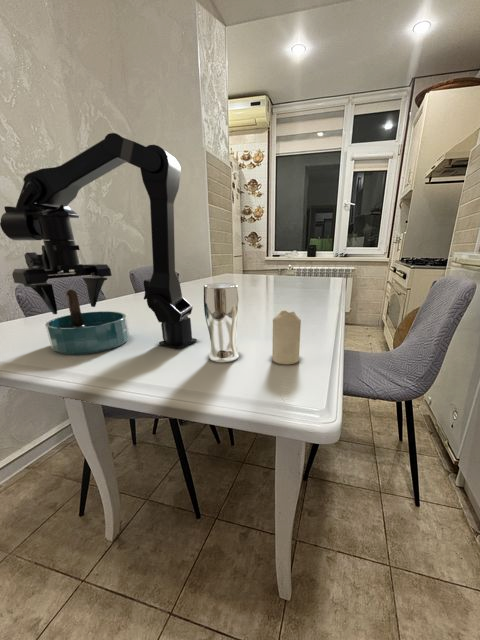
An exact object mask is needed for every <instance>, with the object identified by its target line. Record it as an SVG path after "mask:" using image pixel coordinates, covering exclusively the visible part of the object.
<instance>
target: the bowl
mask: <svg viewBox="0 0 480 640" xmlns="http://www.w3.org/2000/svg"><path fill="white" fill-rule="evenodd" d="M81 315H82V319H83V324H84V325H85V326H86V327H81V328H72V327H73V323H72V319H71V314H67V315H63V316H60V317H55V318H52V319H50V320H48V321H46V323H45V329H46V333H47V336H48V341H49V344H50V347H51V348H50V349H52V350H53V351H55V352H57V353H59V354H63V355H88V354H95V353H101V352H106V351H109V350H112V349H115V348H118V347H121V346H122V345H123V344H125V343H126V342H127V341H128V340H129V339H130V331H129V327H128V320H127V315H126V313H123V312H118V311H106V310H105V311H104V310H103V311H102V310H101V311H88V312H81Z"/></svg>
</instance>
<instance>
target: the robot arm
mask: <svg viewBox="0 0 480 640" xmlns="http://www.w3.org/2000/svg"><path fill="white" fill-rule="evenodd" d="M125 163H126V164H127V163H128V164H130V165H132V166H135V167H137V168H138V169H140V174H141V179H142V184H143V186H144V188H145V190H146V193H147V195H148V198H149V208H150V229H151V232H150V233H151V251H152V252H151V253H152V275H151V277H150V278H148V279H145V280H143V288H144V289H143V290H144V295H143V300H146V305H147V307H148V309H150V310H151V311H152V312H153V313H154V315H155V318H156V320H157V321H158V323H160V325H161V333H162V341H159V342H158V344H159V345H161V346H164V347H170V348H174V349H182V348H184V347H186V346H189V345H191V344H193V343H196V342H197V341H198V339H197V338H195V337H193V332H192V321H191V317H189V316H190V315H191V314H192V311H193V305H192V304H191V303H190V302H189V301H188V300H187V299H185V297H183V294H182V287H181V283H180V281H179V279H178V275H177V272H176V257H175V256H176V255H175V253H176V251H175V249H176V248H175V247H176V246H175V200H176V198H177V195H178V193H179V189H180V183H181V175H182V170H181V165H180V162H179V161H178V160H177V159H176V157H175V156H173V155H172V154H171V153H170V152H168V151H167V150H165V149H164V148H162V147H161V146H160V145H157V144H148V145H147V146H145V145H143V144H141V143H138V142H136V141H134V140H131V139H128V138H126V137H123V136H122V135H120V134H118V133H116V132H110V133H108V134H106V135H105V137H104V138H103V139H102V140H100V141H98V142H97V143H95V144H93V145H92V146H90V147H88V148H87V149H85V150H84V151H81V152H80V153H79V154H77V155H76V156H73V157H72V158H71V159H68V160H67V161H66V162H64V163H62V164H61V165H58V166H54V167H44V168H40V169H37V170H33V171H30V172H28V173H26V174H25V175H24V177H23V185H22V187H21V191H20V194H19V196H18V199H17V202H16V204H15V206H10V205H7V206H4V211H5V212H4V213H3V214H2V215H1V217H0V229H1V231H2V232H3V234H4V236H6V237H7V238H9V239H10V240H12V241H42V242H43V245H42V244H41V254H38V253H37V252H34V251H33V252H26V253H24V259H25V264H26V266H27V267H25V268H24V267H23V268H14V269H13V271H12V274H11V276H12V279H13V283H14V284H20V285H23V286H24V287H26V288H31V289H32V290H33V291H34V292H36V293H37V295H38V296H39V297H40V298H41V300H42V301H43V302H44V303H45V305H46V306H47V308H48V309H49V310H50V312H51V313H52V315H58V306H57V302H56V297H55V293H54V292H55V291H54V288H53V284H52V283H48V280H52V279H60V278H61V279H62V278H73V277H82V280H83V281H84V283H85V285H86V289H87V295H88V300H89V304H90V307H91V308H96V305H97V303H98V299H99V296H100V292H101V289H102V287H103V285H104V282H105V281H107V280H108V277H112V269H111V267H110V266H109V265H108V264H107V263H91V264H90V263H89V264H81V263H80V260H79V257H78V251H80V250H81V249H80V246H79V244H76V242H75V237H74V232H73V227H72V224H71V219H79V218H80V215H79V214H78V213H77V212H75V210H74V209H72V208H71V207H70V206H69V204H71V203H72V202H73V201H74V200H75V199H76V198H77V196H78V194H79V191H81V189H82V188H84V187H85V186H88V185H89V184H90V183H92V182H94V181H96V180H97V179H99V178H101V177H103V176H104V175H106V174H108V173H110V172H111V171H113V170H115V169H117V168H119V167H120V166H122V165H123V164H125ZM83 276H85V277H83Z"/></svg>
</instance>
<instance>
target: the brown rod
mask: <svg viewBox="0 0 480 640" xmlns="http://www.w3.org/2000/svg"><path fill="white" fill-rule="evenodd" d="M65 297H66V301H67V306H68V310H69V315H71V319H72V323H73V327H72V328H81V327H86V326H85V325H84V324H83V319H82V315H81V313H82V311H81V310H82V309H81V306H80V301H79V296H78V293H77V291H76V290H74V289H68V290H66V292H65Z"/></svg>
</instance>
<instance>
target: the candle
mask: <svg viewBox="0 0 480 640" xmlns="http://www.w3.org/2000/svg"><path fill="white" fill-rule="evenodd" d="M301 319H302V318H300V317H299V316H298V314H297V313H296V312H295V311H291V312H289V311H287V310H282V311H280V312H279V313H278V314H276V315H275V316H274V317H273V318H272V351H271V352H272V353H271V354H272V356H271V357H272V358H271V359H272V361H273V362H274V363H276V364H280V365H293V364H294V365H295V364H297V363H298V362H299V360H300V349H301V348H300V347H301V346H300V345H301V328H302V327H301V326H302V320H301Z"/></svg>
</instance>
